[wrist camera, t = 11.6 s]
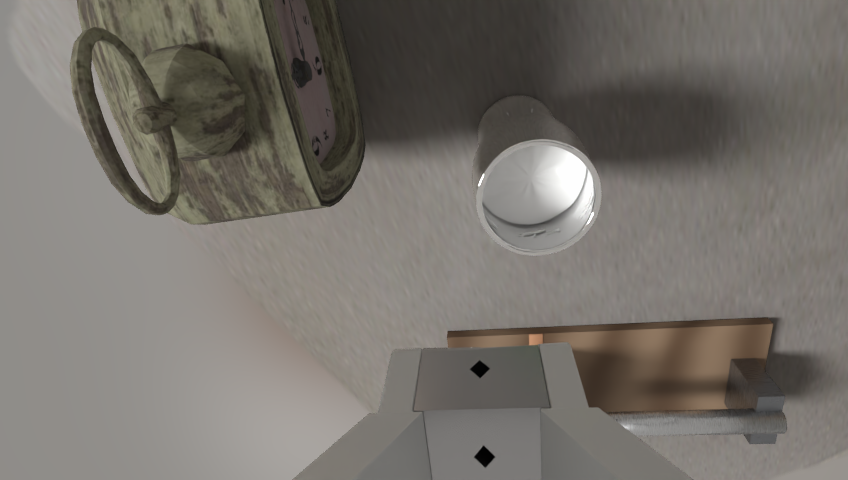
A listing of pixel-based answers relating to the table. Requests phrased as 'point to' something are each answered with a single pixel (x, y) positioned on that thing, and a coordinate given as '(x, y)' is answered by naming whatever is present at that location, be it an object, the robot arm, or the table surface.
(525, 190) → the beer glass
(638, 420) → the linear slide rail
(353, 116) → the tabletop clock
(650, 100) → the table surface
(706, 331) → the board
